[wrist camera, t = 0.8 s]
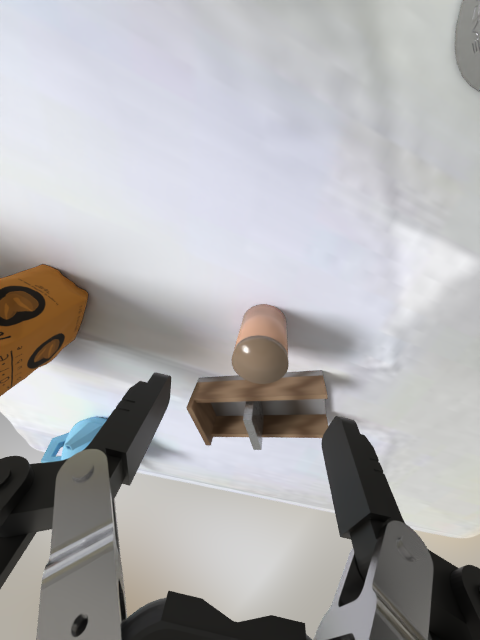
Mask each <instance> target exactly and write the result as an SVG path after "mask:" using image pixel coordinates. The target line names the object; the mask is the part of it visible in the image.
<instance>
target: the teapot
mask: <svg viewBox="0 0 480 640" xmlns="http://www.w3.org/2000/svg"><path fill="white" fill-rule="evenodd" d="M106 420H107V419H105V418H100V417H92V418H88V419H85V420H82V421H80V422H78V423H76V424H75V425H74V427H73V428H72V429H71V431H70V432H69V433H67V434H64V435H61V436H58V437H55V438H52V440H51V442H50V444H49V446H48V448H47V450H46V452H45V454H44V456H43V458H42V460H41V462H42V463H45V462H54V461H61V460H65V459H68V458H70V457H72V456H73V455H75V454H76V453H78V452H81V451H82V450H84V449H85V448H86V447H87V446H88V445H89V444H90V442H91V441H92V440H93V438H94V437H95V436H96V434H97V433H98V432H99V430H100V429H101V427H102V426H103V425H104V423H105V422H106ZM63 446H64V447H63ZM61 447H63V451H62V456H58V457H55V456H56V454H57V453H58V451H59V449H60V448H61Z"/></svg>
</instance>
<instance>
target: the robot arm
mask: <svg viewBox="0 0 480 640" xmlns="http://www.w3.org/2000/svg"><path fill="white" fill-rule="evenodd" d="M455 53H456V60H457V65H458V67H459V70H460V72H461V74H462V76H463V78H464V79H465V80H466V81H467V82H468V84H469V85H470V86H472V87H473V88H475V89H477V90H479V91H480V0H463V2H462V4H461V8H460V13H459V17H458V21H457V25H456V36H455ZM170 389H171V376H168V375H164V374H160V373H154V374H153V375H152V377H151V378H150V380H149V381H148V383H146V382H142V381H140V382H138V383H137V384H135V385H134V386H132V387H131V388H130V389H129V390H128V391H127V393H126V394H125V396H124V397H123V398H122V401H120V402H119V404H118V405H117V407H116V409H114V411H113V412H112V414H111V415H110V416H109V418H108V419H107V420H106V422H105V423H104V425H103V426H102V427H101V429H100V430H99V432H98V433H97V434H96V436H95V437H94V438H93V440H92V441H91V442H90V444H89V445H88V446H87V447H86V448H85V449H84V450H82V451H81V452H78V453H76V454H75V455H73V456H72V457H70V458H68V459H65V460H61V461H54V462H45V463H37V464H29V462H28V461H27V460H26V459H25V458H23V457H20V456H10V457H5V458H2V459H0V589H1V587H2V586H3V584H4V582H5V581H6V579H7V578H8V576H9V574H10V573H11V571H12V570H13V568H14V567H15V565H16V563H17V562H18V561H19V559H20V557H21V556H22V554H23V553H24V551H25V550H26V548H27V546H28V545H29V543H30V542H31V540H32V539H33V537H34V535H35V534H36V532H38V531H43V530H49V529H52V539H51V551H50V558H49V562H48V564H47V565H46V567H45V570H44V573H43V578H42V584H41V594H40V605H39V617H38V627H37V638H36V640H312V639H311V638H310V637H309V636H307V635H306V631H305V623H302V622H298V621H293V620H289V619H285V618H281V617H277V616H272V615H270V616H266V617H261V618H256V619H252V620H247V621H242V622H234V621H232V620H231V619H229V618H228V617H226V616H225V615H224V614H222V613H221V612H220V611H218V610H217V609H215V608H214V607H213V606H211V605H210V604H208V603H207V602H206V601H204V600H203V599H201V598H197V597H193V596H188V595H184V594H180V593H176V592H172V591H168V594H167V598H164V599H159V600H156V601H153V602H151V603H148V604H147V605H145V606H143V607H141V608H140V609H138V610H137V611H136V612H134V613H133V614H132V615H130V616H129V617H128V618H127V611H126V601H125V591H124V583H123V572H122V565H121V558H120V548H119V537H118V529H117V528H118V527H117V517H116V507H115V496H116V494H117V492H118V490H119V489H120V487H121V484H126V485H130V484H131V482H132V480H133V478H134V476H135V474H136V472H137V470H138V468H139V465H140V463H141V461H142V459H143V457H144V455H145V453H146V451H147V449H148V447H149V445H150V443H151V440H152V438H153V436H154V434H155V432H156V430H157V428H158V426H159V424H160V422H161V420H162V418H163V416H164V413H165V411H166V409H167V407H168V404H169V400H170ZM322 450H323V455H324V460H325V465H326V470H327V475H328V480H329V484H330V489H331V494H332V499H333V504H334V509H335V514H336V519H337V523H338V528H339V533H340V537H343V538H347V539H351V540H352V544H353V549H352V550H351V552H350V554H349V557H348V560H347V563H346V566H345V569H344V571H343V575H342V577H341V580H340V583H339V586H338V589H337V591H336V594H335V597H334V600H333V602H332V605H331V607H330V609H329V610H328V611H327V613H326V614H325V615H324V617H323V619H322V621H321V623H320V625H319V627H318V630H317V632H316V635H315V637H314V640H480V569H479V568H477V567H475V566H472V565H466V566H463V567H461V568H457V567H456V566H454V565H452V564H451V563H449V562H447V561H446V560H444V559H442V558H441V557H439V556H438V555H436V554H434V553H433V552H431V551H429V550H428V549H427V547H426V546H425V544H424V542H423V541H422V540H421V538H420V537H419V536H418V535H417V534H416V532H415V531H414V530H413V529H411V528H410V527H409V526H408V525H406V524H405V522H404V520H403V518H402V516H401V514H400V511H399V509H398V506H397V504H396V501H395V499H394V497H393V494H392V492H391V489H390V487H389V484H388V482H387V479H386V477H385V475H384V474H383V470H382V467H381V465H380V463H379V462H378V461H379V460H378V457H377V455H376V453H375V450H374V448H373V446H372V445H371V443H370V442H369V441H368V439H367V438H366V437H365V435H362V434H360V432H359V429H358V427H357V424H356V422H355V421H354V420H351V419H347V418H342V417H338V416H336V417H335V418H334V419H333V421H332V422H331V424H330V425H329V427H328V428H327V430H326V431H325V433H324V434H323V437H322Z"/></svg>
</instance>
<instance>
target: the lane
mask: <svg viewBox="0 0 480 640" xmlns="http://www.w3.org/2000/svg"><path fill="white" fill-rule="evenodd" d="M325 399H328V398H327V391H326V387H325V382H324V378H323V373H322V370H319V371H303V372H287V373H286V374H285V375H284V376H283V377H282V378H281V379H279V380H278V381H275V382H273V383H268V384H257V383H252V382H249V381H247V380H245V379H243V378H242V377H240V376H224V377H208V378H199V379H198V381H197V384H196V386H195V389H194V391H193V393H192V396H191V398H190V400H189V403H188V405H187V410H188V412H189V414H190V416H191V418H192V419H193V421H194V423H195V425H196V427H197V429H198V431H199V433H200V434H201V436H202V438H203V440H204V442H205V444H206V445H211V442H212V438H213V437H249V435H248V432H247V430H246V427H245V424H244V421H243V416H244V410H245V403H246V401H260V403H261V406H262V410H263V413H264V420H263V434H262V437H296V438H322V437H323V434H324V433H325V431H326V430H327V428H328V422H327V417H326V409H325Z"/></svg>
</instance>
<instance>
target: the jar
mask: <svg viewBox="0 0 480 640" xmlns="http://www.w3.org/2000/svg"><path fill="white" fill-rule="evenodd" d="M232 365H233V368H234V370H235V371H236V373H237V374H238V375H239V376H240V377H242V378H243V379H245V380H247V381H249V382H252V383H257V384H268V383H273V382H275V381H278V380H279V379H281V378H282V377H283V376H284V375H285V374H286V372H287V369H288V346H287V323H286V318H285V316H284V314H283V313H282V312H281V311H280V310H279V309H278V308H276V307H274V306H271V305H267V304H261V305H256V306H253V307H251V308H250V309H249V310H247V312H246V313H245V314H244V317H243V320H242V323H241V327H240V331H239V334H238V338H237V341H236V345H235V349H234V352H233V356H232Z"/></svg>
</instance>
